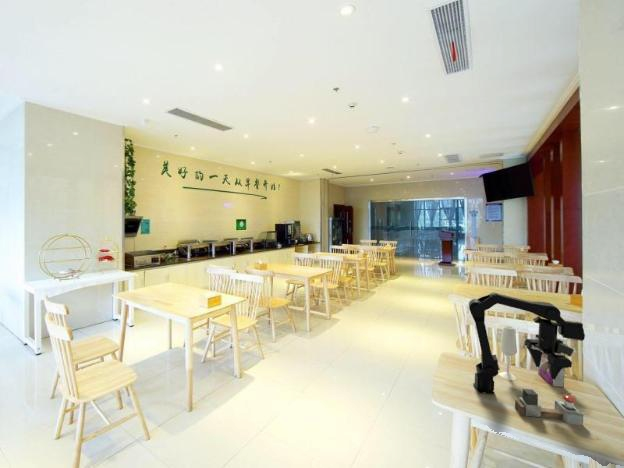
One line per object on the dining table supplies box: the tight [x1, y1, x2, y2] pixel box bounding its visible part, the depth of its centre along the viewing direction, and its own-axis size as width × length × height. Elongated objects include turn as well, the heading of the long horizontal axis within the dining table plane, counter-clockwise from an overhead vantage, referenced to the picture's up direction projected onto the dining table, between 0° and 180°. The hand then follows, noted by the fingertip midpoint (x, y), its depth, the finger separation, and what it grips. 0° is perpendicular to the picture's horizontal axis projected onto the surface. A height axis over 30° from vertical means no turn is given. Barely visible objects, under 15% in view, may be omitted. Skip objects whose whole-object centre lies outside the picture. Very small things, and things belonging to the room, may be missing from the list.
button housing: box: [554, 400, 585, 426], centre depth 105 cm, size 5×7×4 cm
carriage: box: [518, 388, 542, 418], centre depth 107 cm, size 5×4×8 cm
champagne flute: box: [498, 324, 518, 381], centre depth 133 cm, size 7×7×24 cm
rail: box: [514, 399, 563, 420], centre depth 106 cm, size 14×4×4 cm, turn 79°
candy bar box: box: [537, 353, 566, 388], centre depth 130 cm, size 11×5×16 cm, turn 168°
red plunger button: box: [562, 393, 577, 411], centre depth 104 cm, size 4×4×5 cm
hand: (545, 372), depth 112 cm, fingers open, 9 cm apart
